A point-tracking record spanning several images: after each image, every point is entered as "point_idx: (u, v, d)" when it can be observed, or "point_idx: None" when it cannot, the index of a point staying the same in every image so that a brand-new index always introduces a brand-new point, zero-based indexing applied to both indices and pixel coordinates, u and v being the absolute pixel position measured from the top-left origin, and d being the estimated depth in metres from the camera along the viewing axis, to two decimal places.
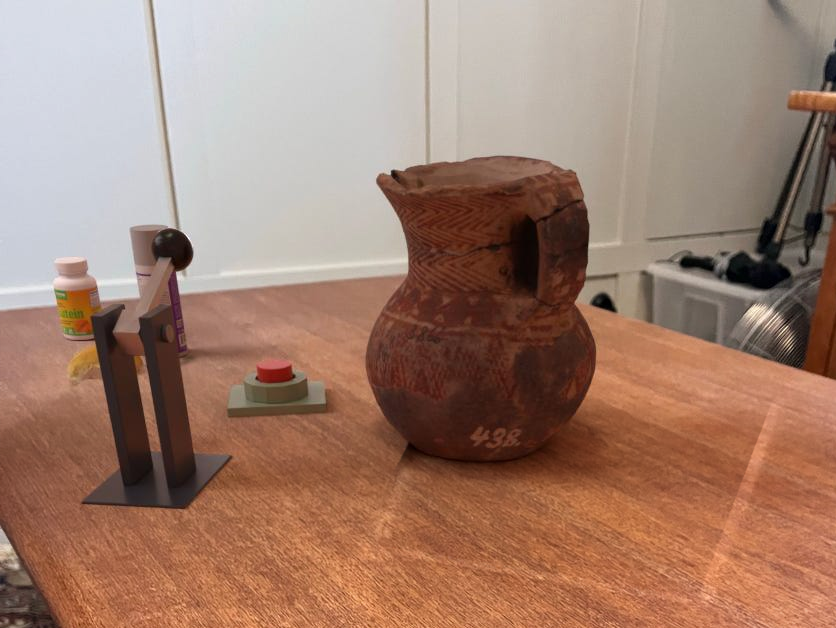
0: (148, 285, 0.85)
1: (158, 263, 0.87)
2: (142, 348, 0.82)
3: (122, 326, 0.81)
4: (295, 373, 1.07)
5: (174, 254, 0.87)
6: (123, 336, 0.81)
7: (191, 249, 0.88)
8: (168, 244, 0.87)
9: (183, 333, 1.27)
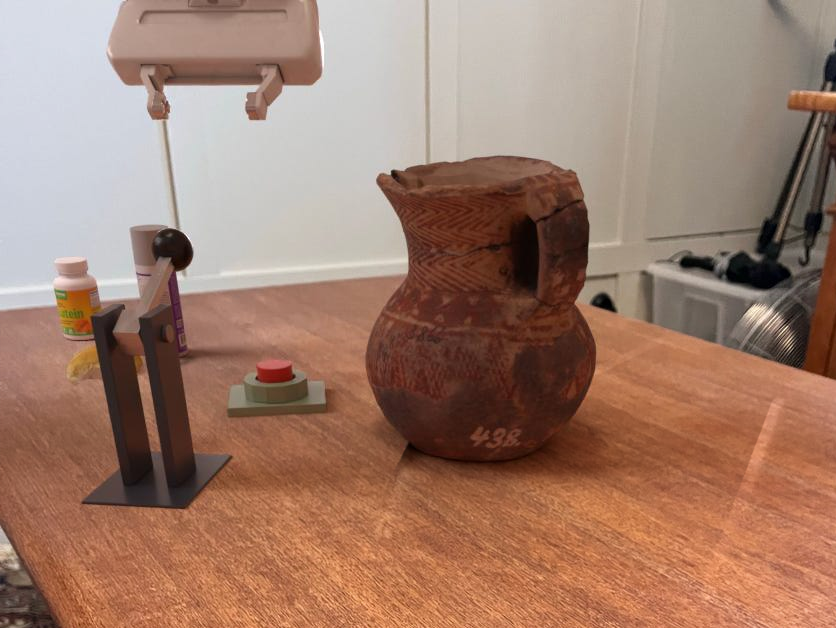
0: (148, 285, 0.85)
1: (158, 263, 0.87)
2: (142, 348, 0.82)
3: (122, 326, 0.81)
4: (295, 373, 1.07)
5: (174, 254, 0.87)
6: (123, 336, 0.81)
7: (191, 249, 0.88)
8: (168, 244, 0.87)
9: (183, 333, 1.27)
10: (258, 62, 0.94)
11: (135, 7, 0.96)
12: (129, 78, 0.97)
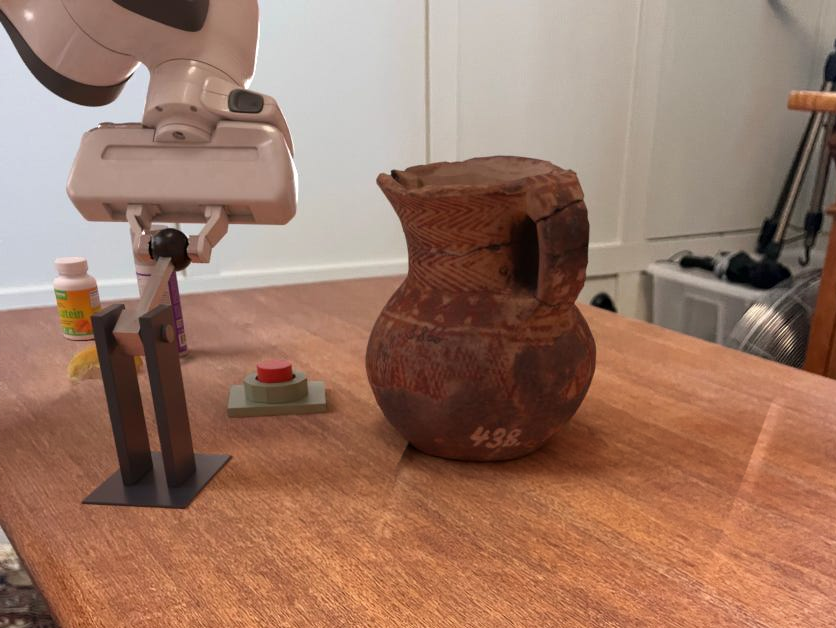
0: (148, 285, 0.85)
1: (158, 263, 0.87)
2: (142, 348, 0.82)
3: (122, 326, 0.81)
4: (295, 373, 1.07)
5: (174, 254, 0.87)
6: (123, 336, 0.81)
7: None
8: (168, 244, 0.87)
9: (183, 333, 1.27)
10: (227, 203, 0.88)
11: (97, 141, 0.90)
12: (90, 215, 0.91)
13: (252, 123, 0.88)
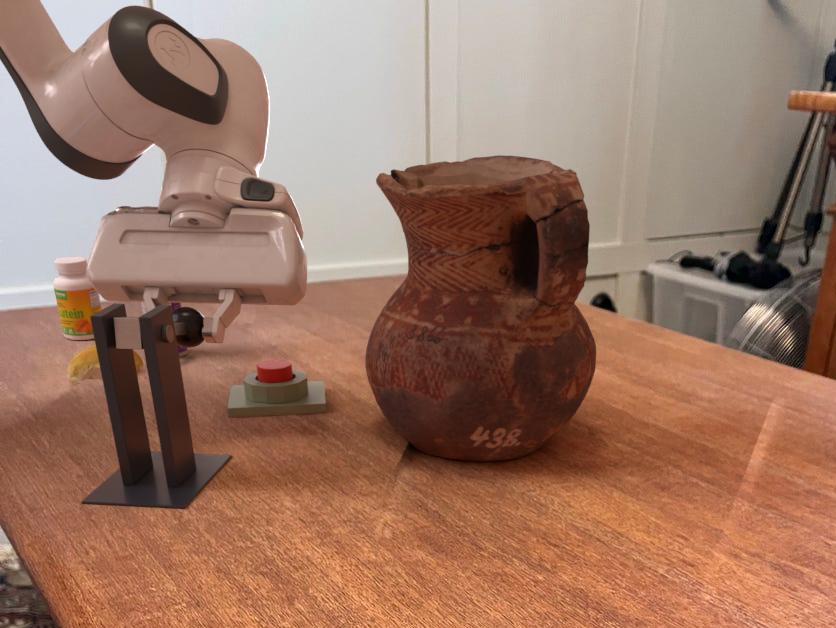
0: None
1: None
2: (138, 339, 0.81)
3: (124, 317, 0.82)
4: (295, 373, 1.07)
5: (189, 321, 0.91)
6: (123, 323, 0.81)
7: None
8: (185, 312, 0.91)
9: None
10: (240, 287, 0.92)
11: (116, 226, 0.94)
12: (109, 295, 0.95)
13: (263, 210, 0.92)
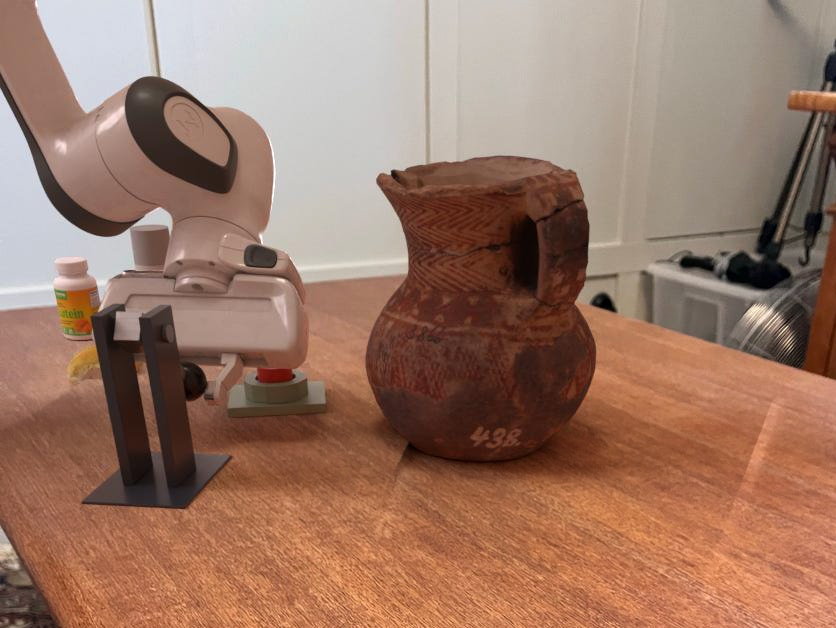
0: None
1: None
2: (137, 331, 0.81)
3: None
4: (295, 373, 1.07)
5: (189, 369, 0.92)
6: (125, 316, 0.81)
7: (205, 381, 0.93)
8: (187, 363, 0.92)
9: None
10: (242, 351, 0.94)
11: (121, 290, 0.96)
12: None
13: (266, 276, 0.94)
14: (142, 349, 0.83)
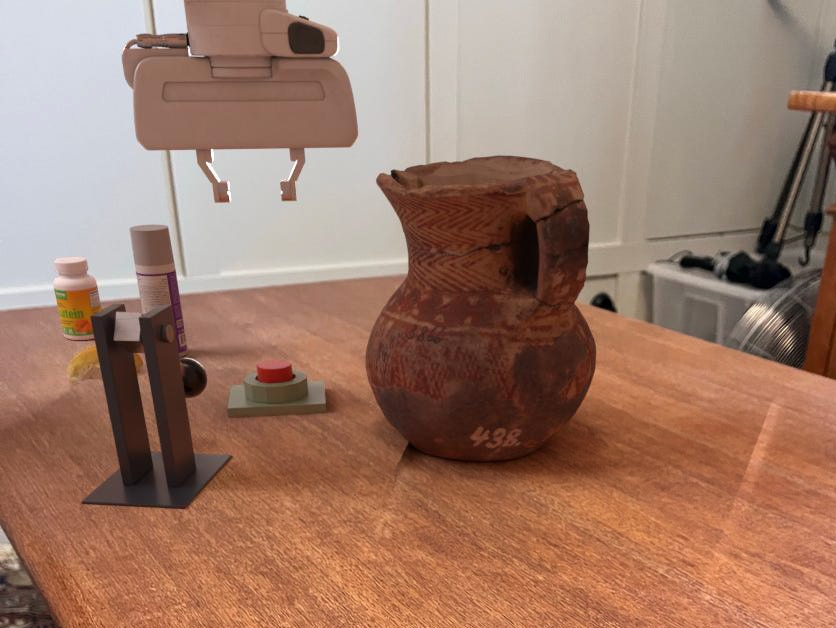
0: None
1: None
2: (138, 331, 0.81)
3: None
4: (295, 373, 1.07)
5: (190, 366, 0.92)
6: (125, 316, 0.81)
7: (205, 377, 0.93)
8: (187, 359, 0.92)
9: (183, 333, 1.27)
10: (302, 147, 0.94)
11: (152, 78, 0.89)
12: None
13: (315, 61, 0.90)
14: (142, 349, 0.83)
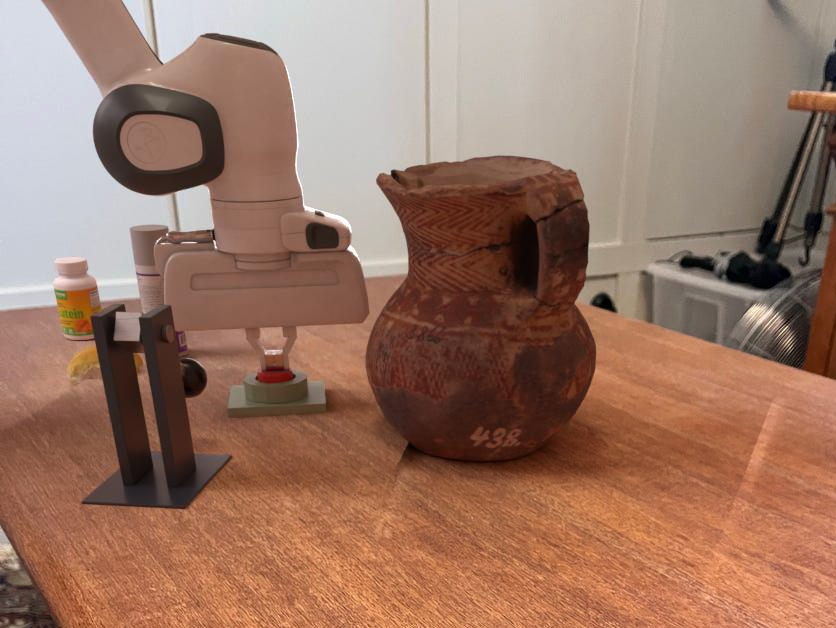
0: None
1: None
2: (138, 331, 0.81)
3: None
4: (295, 373, 1.07)
5: (190, 366, 0.92)
6: (125, 316, 0.81)
7: (205, 377, 0.93)
8: (187, 359, 0.92)
9: (183, 333, 1.27)
10: (318, 324, 1.03)
11: (182, 271, 0.98)
12: None
13: (330, 254, 0.98)
14: (142, 349, 0.83)
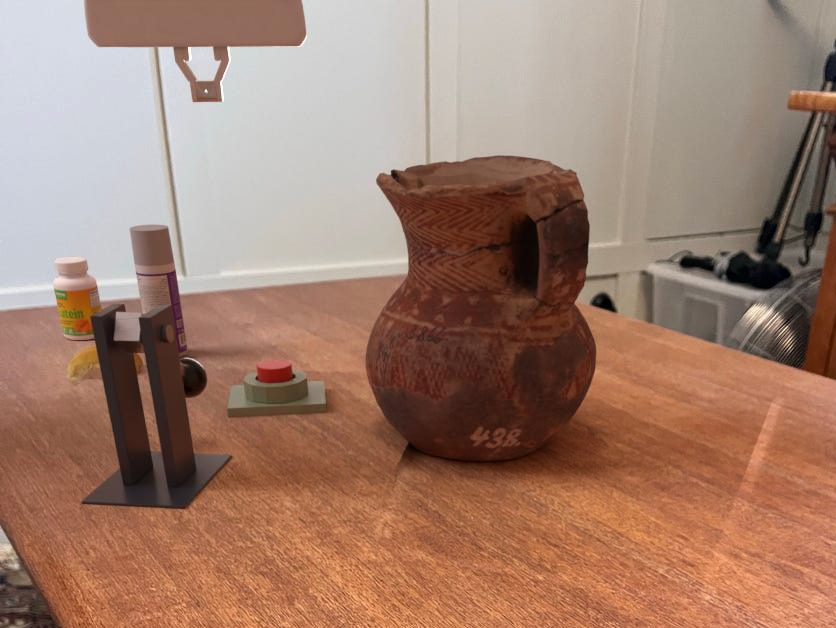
0: None
1: None
2: (138, 331, 0.81)
3: None
4: (295, 373, 1.07)
5: (190, 366, 0.92)
6: (125, 316, 0.81)
7: (205, 377, 0.93)
8: (187, 359, 0.92)
9: (183, 333, 1.27)
10: (252, 46, 0.96)
11: None
12: None
13: None
14: (142, 349, 0.83)
